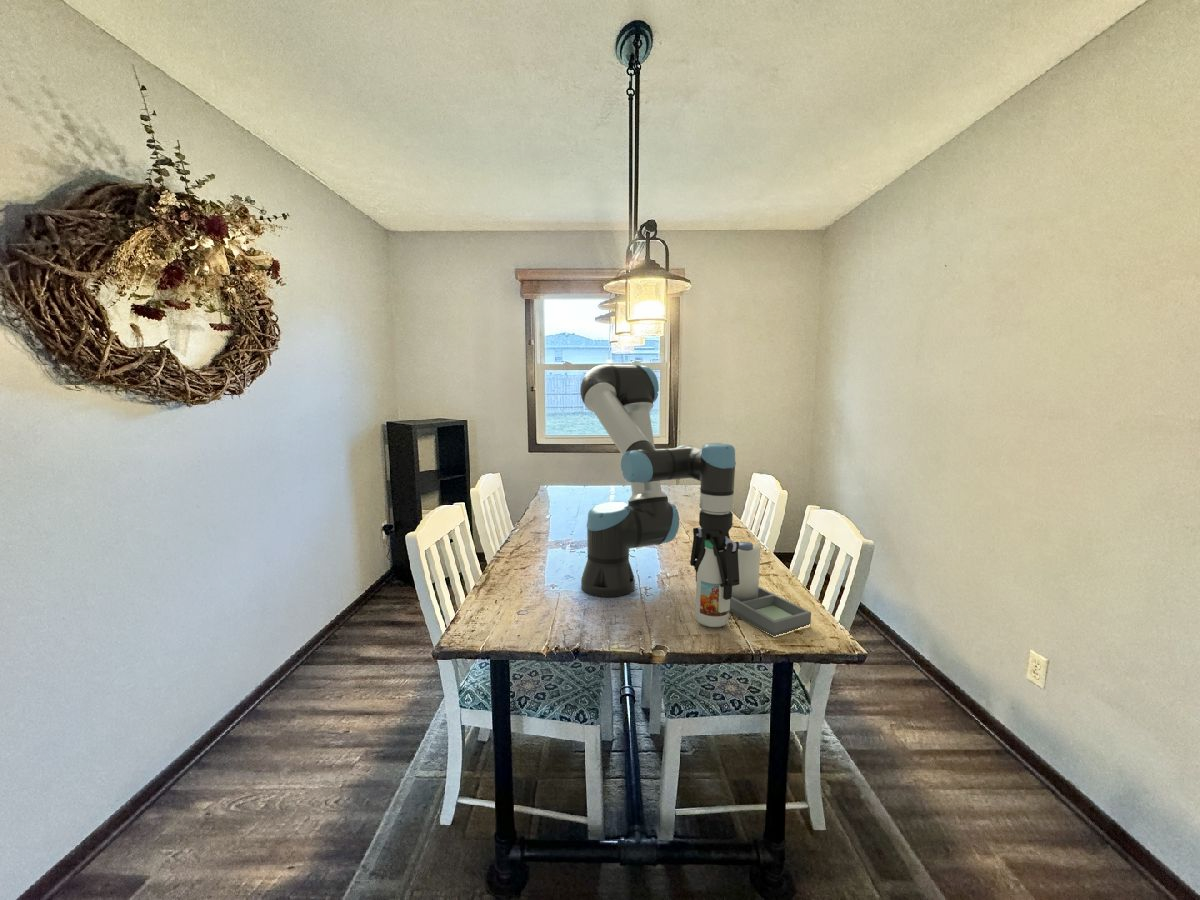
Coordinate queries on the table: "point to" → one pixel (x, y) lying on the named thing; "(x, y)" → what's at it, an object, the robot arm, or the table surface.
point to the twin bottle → (747, 572)
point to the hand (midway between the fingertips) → (712, 603)
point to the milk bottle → (709, 590)
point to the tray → (771, 613)
